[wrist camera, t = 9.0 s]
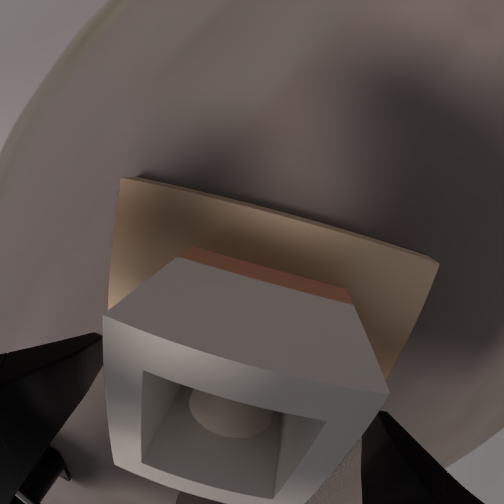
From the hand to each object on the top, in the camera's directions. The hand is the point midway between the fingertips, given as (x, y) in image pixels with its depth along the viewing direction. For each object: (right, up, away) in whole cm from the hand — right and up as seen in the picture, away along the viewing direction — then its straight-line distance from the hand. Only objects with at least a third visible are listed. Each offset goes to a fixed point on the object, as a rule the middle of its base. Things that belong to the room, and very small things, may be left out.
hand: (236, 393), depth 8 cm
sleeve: (0, +1, +3) cm, 4 cm away
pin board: (-1, -4, +6) cm, 7 cm away
